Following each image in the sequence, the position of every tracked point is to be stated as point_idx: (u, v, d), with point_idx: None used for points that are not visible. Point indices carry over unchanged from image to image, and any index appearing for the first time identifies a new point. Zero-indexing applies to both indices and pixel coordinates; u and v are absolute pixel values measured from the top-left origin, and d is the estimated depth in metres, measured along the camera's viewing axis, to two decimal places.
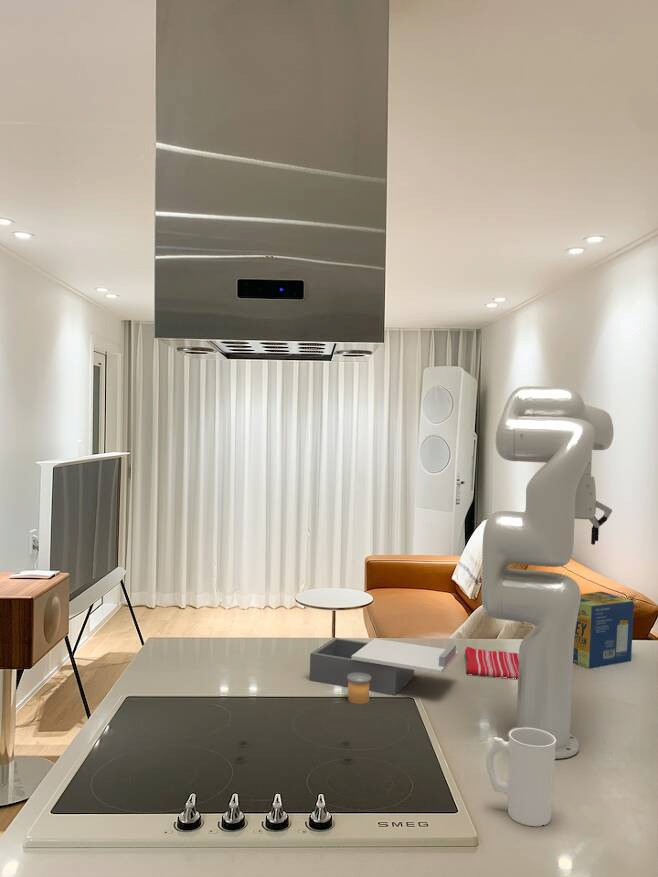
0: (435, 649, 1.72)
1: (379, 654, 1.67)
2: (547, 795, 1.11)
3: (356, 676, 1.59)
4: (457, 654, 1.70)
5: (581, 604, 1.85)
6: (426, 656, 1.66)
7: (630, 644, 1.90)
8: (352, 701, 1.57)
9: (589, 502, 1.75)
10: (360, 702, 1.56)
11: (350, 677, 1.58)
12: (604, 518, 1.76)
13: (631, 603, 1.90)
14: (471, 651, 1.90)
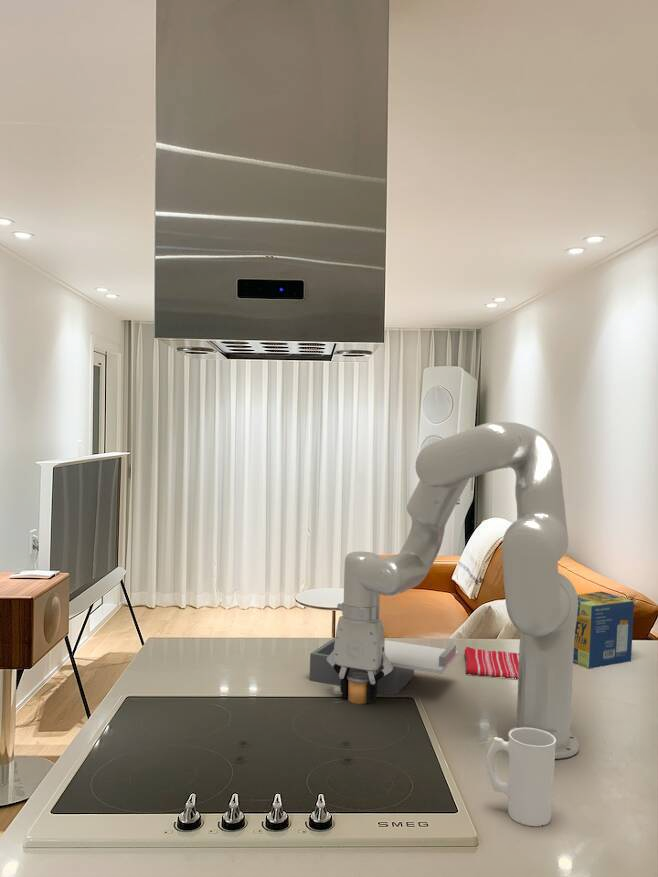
0: (435, 649, 1.72)
1: None
2: (547, 795, 1.11)
3: (356, 676, 1.59)
4: (457, 654, 1.70)
5: (581, 604, 1.85)
6: (426, 656, 1.66)
7: (630, 644, 1.90)
8: (352, 701, 1.57)
9: (373, 652, 1.54)
10: (360, 702, 1.56)
11: (350, 677, 1.58)
12: (380, 674, 1.56)
13: (631, 603, 1.90)
14: (470, 651, 1.90)
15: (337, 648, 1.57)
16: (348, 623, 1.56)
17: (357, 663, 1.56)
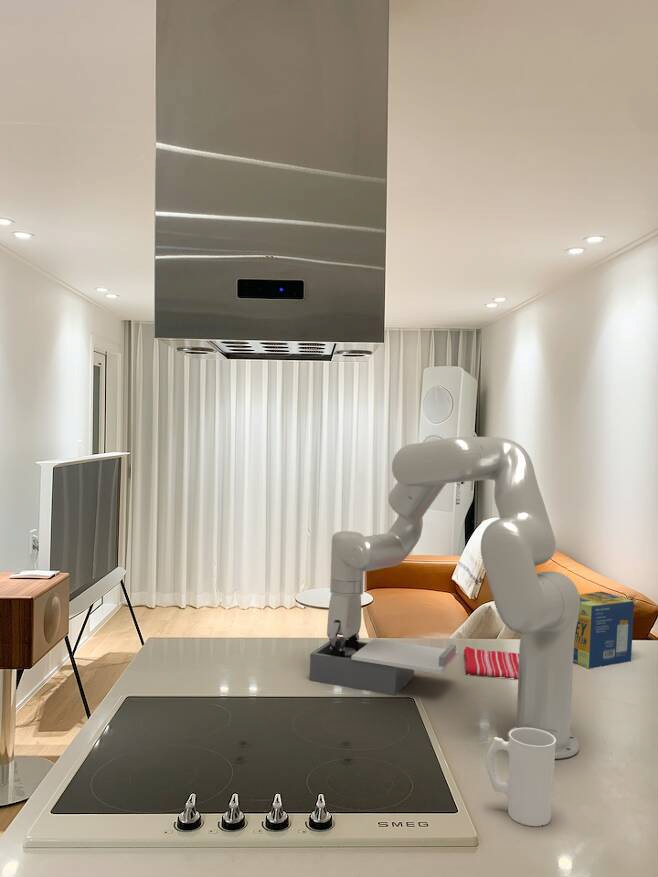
0: (435, 649, 1.72)
1: (379, 654, 1.67)
2: (547, 795, 1.11)
3: (345, 649, 1.74)
4: (457, 654, 1.70)
5: (581, 604, 1.86)
6: (426, 656, 1.66)
7: (630, 644, 1.90)
8: None
9: None
10: None
11: None
12: None
13: (631, 603, 1.90)
14: (470, 651, 1.90)
15: None
16: None
17: None
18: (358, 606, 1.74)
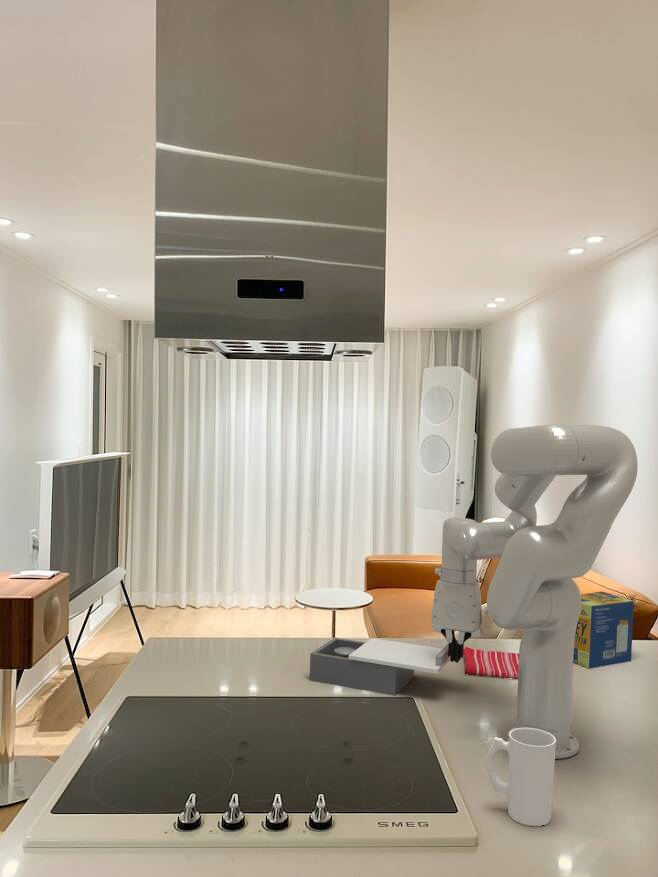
0: (432, 649, 1.72)
1: (376, 654, 1.67)
2: (547, 795, 1.11)
3: (345, 649, 1.74)
4: None
5: (581, 604, 1.86)
6: (423, 655, 1.67)
7: (630, 644, 1.90)
8: None
9: (472, 614, 1.59)
10: None
11: (341, 647, 1.76)
12: (468, 634, 1.62)
13: (631, 603, 1.90)
14: (469, 651, 1.90)
15: (436, 611, 1.63)
16: (447, 586, 1.62)
17: (456, 625, 1.61)
18: None
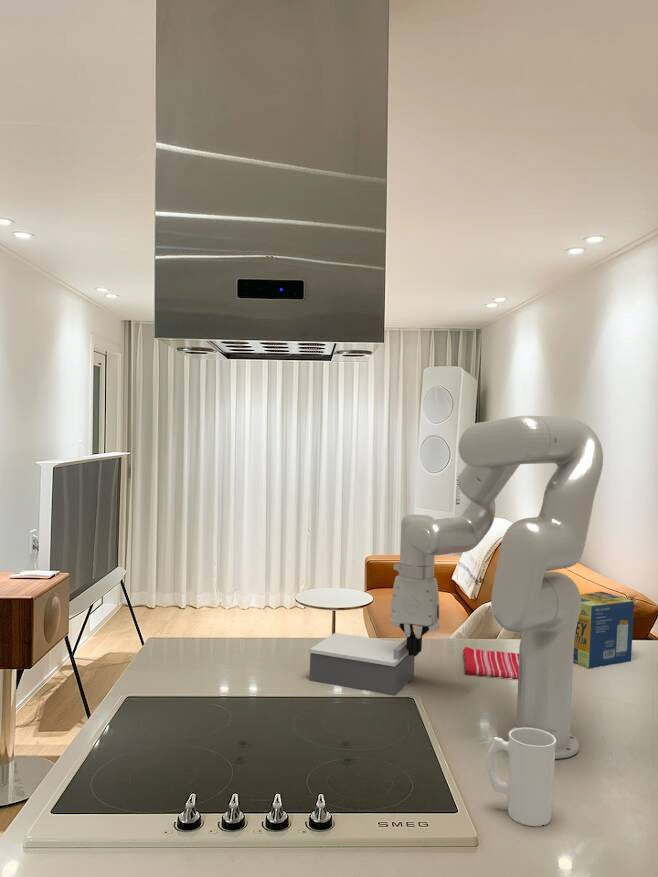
0: (393, 643, 1.76)
1: (337, 647, 1.71)
2: (547, 795, 1.11)
3: None
4: None
5: (581, 604, 1.86)
6: (383, 649, 1.70)
7: (630, 644, 1.90)
8: None
9: (429, 609, 1.63)
10: None
11: None
12: (425, 628, 1.65)
13: (631, 603, 1.90)
14: (469, 651, 1.90)
15: (394, 605, 1.66)
16: (405, 581, 1.65)
17: (414, 619, 1.64)
18: None
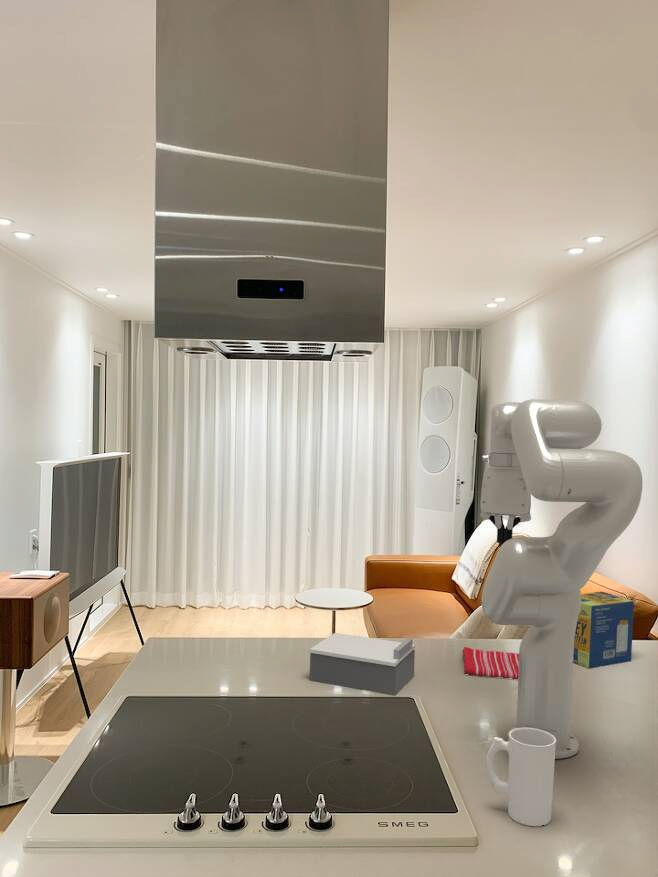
0: (393, 643, 1.76)
1: (337, 647, 1.71)
2: (547, 795, 1.11)
3: None
4: (414, 647, 1.74)
5: (581, 604, 1.86)
6: (383, 649, 1.70)
7: (630, 644, 1.90)
8: None
9: (522, 497, 1.59)
10: None
11: None
12: (517, 519, 1.61)
13: (631, 603, 1.90)
14: (468, 651, 1.90)
15: (484, 496, 1.62)
16: (496, 471, 1.61)
17: (506, 509, 1.60)
18: None
